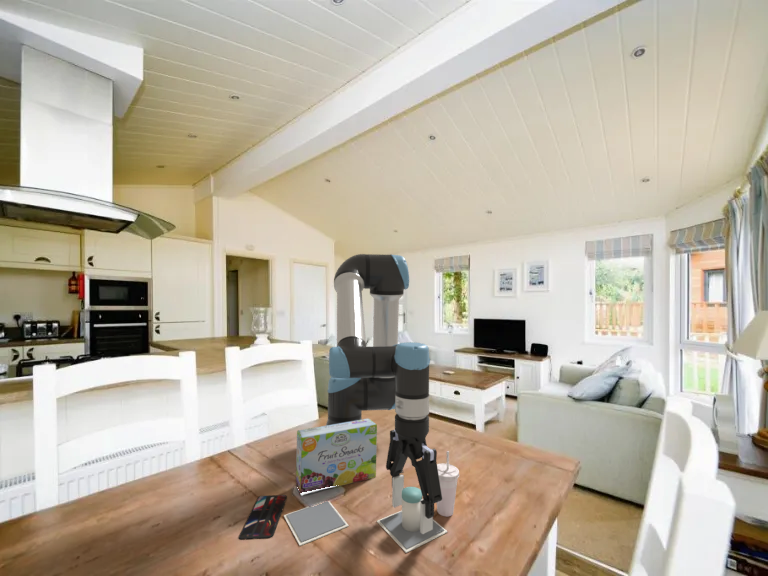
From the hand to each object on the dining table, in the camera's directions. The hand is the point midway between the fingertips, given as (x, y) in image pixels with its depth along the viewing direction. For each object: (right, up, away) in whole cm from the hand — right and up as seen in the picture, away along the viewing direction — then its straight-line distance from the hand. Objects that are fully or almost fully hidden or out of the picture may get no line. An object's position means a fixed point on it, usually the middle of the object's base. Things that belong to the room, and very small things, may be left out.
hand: (411, 517), depth 75 cm
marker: (0, -2, 0) cm, 2 cm away
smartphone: (-33, -3, +3) cm, 34 cm away
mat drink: (0, -2, 0) cm, 2 cm away
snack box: (-19, -3, +18) cm, 26 cm away
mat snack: (-21, -2, +2) cm, 22 cm away
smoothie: (+8, -2, +5) cm, 10 cm away
